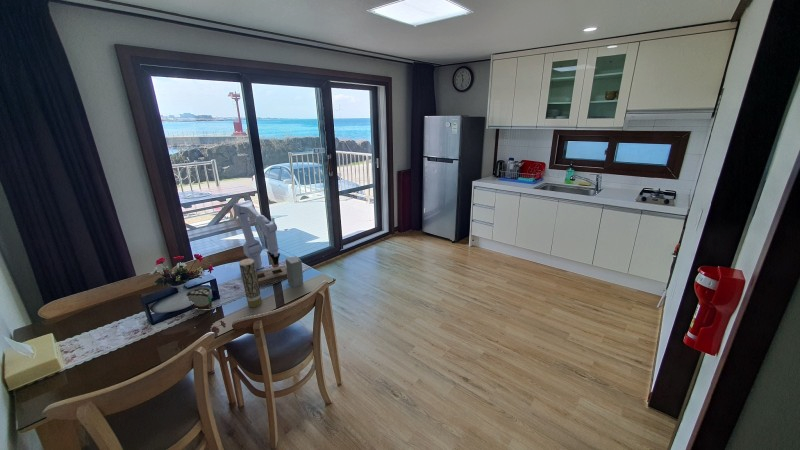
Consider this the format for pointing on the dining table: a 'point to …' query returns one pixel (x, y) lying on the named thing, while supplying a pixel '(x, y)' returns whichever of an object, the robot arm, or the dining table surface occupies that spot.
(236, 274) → the dining table surface
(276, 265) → the pin
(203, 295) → the food container
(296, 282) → the skincare box
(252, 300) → the paper tube
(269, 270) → the bore board
